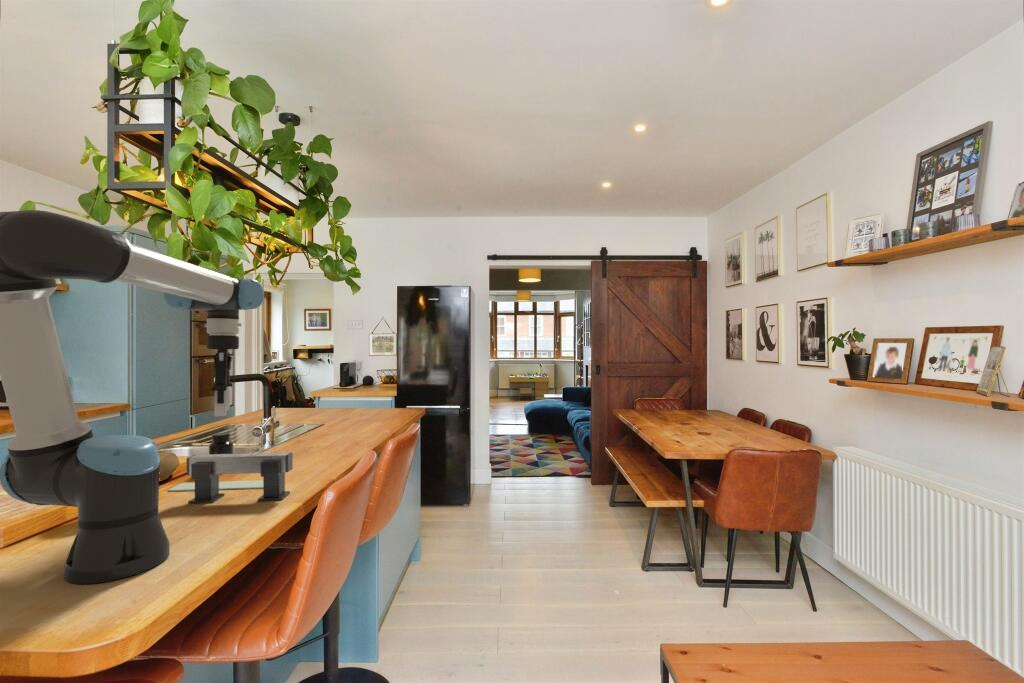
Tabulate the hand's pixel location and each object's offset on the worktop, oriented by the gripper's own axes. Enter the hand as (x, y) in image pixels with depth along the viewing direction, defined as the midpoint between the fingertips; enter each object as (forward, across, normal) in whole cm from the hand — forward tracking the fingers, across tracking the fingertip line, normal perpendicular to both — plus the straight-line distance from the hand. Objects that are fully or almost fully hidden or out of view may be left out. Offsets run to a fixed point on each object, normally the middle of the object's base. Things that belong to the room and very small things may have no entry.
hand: (222, 413), depth 131 cm
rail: (+15, -5, -5) cm, 17 cm away
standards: (+22, -5, -5) cm, 23 cm away
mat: (+22, +9, -1) cm, 24 cm away
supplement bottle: (+22, +30, +2) cm, 37 cm away
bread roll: (+23, +27, +18) cm, 40 cm away
